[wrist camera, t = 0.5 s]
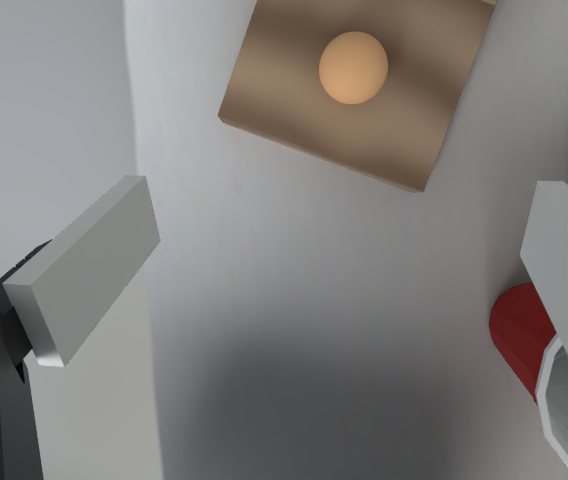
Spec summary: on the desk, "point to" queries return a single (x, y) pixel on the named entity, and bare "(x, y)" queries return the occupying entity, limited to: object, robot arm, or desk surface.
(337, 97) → the ball
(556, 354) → the plastic cup
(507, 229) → the desk surface
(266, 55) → the board
